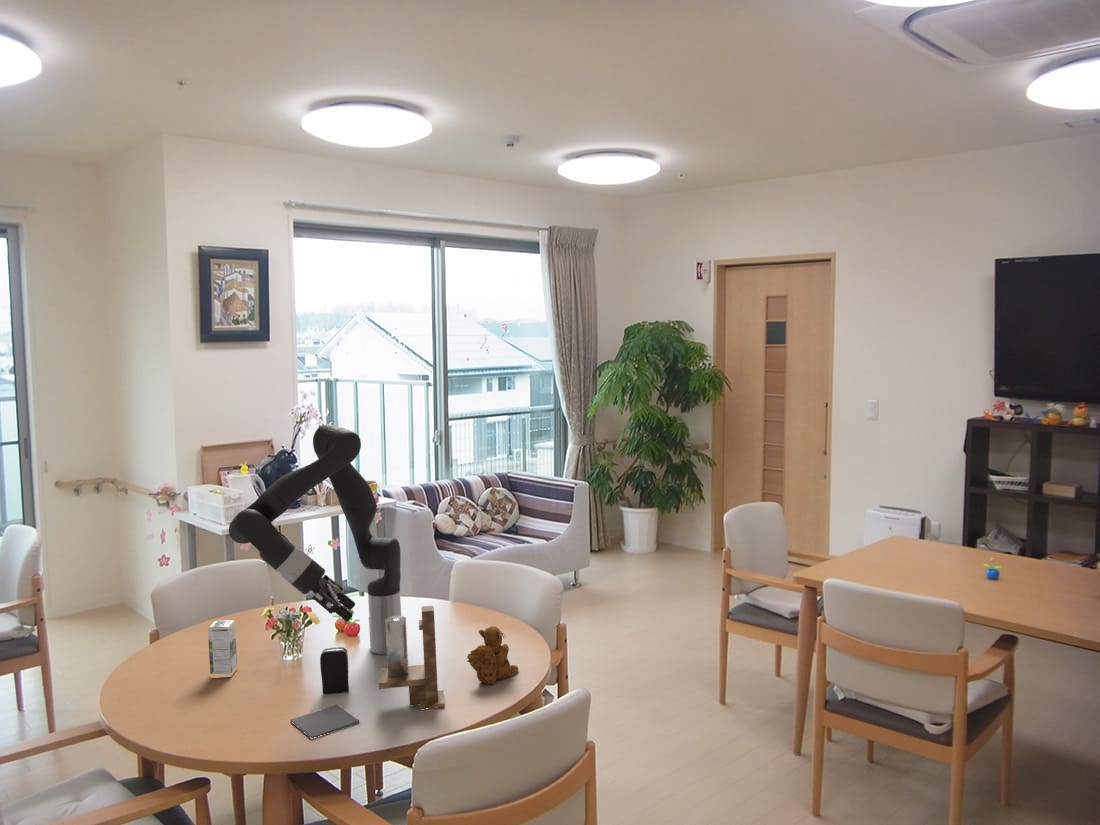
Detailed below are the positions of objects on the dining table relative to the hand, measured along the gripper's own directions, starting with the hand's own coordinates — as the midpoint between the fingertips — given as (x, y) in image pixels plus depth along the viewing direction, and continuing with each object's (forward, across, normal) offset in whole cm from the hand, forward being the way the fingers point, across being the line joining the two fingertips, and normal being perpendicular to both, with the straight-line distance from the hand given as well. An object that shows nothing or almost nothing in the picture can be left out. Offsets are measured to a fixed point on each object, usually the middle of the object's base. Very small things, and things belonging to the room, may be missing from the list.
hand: (351, 612), depth 206 cm
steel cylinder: (+19, 0, +4) cm, 20 cm away
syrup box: (-9, +31, +44) cm, 55 cm away
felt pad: (+12, -6, +22) cm, 26 cm away
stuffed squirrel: (+42, +11, -7) cm, 44 cm away
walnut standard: (+27, 0, +8) cm, 28 cm away
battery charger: (+13, +12, +22) cm, 28 cm away
